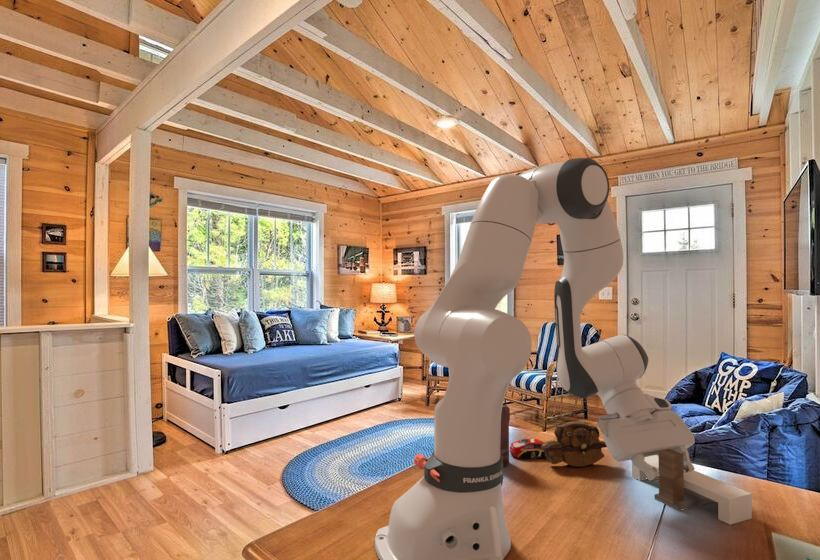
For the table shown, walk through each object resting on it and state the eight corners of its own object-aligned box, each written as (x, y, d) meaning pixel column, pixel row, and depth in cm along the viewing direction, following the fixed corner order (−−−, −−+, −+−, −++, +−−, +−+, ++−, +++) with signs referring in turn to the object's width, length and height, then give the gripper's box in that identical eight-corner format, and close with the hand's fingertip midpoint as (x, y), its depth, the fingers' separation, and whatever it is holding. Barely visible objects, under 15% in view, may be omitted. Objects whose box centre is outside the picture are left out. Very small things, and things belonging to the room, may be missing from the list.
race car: (558, 452, 113) (558, 436, 114) (566, 460, 108) (566, 444, 108) (507, 452, 113) (507, 436, 113) (513, 460, 108) (513, 444, 108)
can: (510, 469, 102) (510, 408, 102) (482, 467, 103) (482, 407, 103) (509, 459, 108) (509, 402, 108) (483, 457, 109) (483, 400, 109)
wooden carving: (549, 472, 100) (549, 428, 100) (540, 464, 105) (539, 422, 105) (613, 466, 103) (613, 424, 104) (601, 459, 108) (601, 418, 108)
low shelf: (729, 524, 78) (729, 499, 78) (632, 477, 98) (631, 456, 98) (751, 518, 80) (751, 493, 80) (651, 473, 100) (651, 453, 100)
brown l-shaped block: (677, 511, 83) (677, 458, 83) (654, 499, 88) (654, 449, 88) (718, 500, 87) (718, 450, 87) (694, 489, 92) (694, 441, 92)
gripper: (601, 408, 89) (642, 476, 80) (673, 399, 96) (719, 460, 87) (585, 424, 93) (623, 490, 84) (656, 414, 100) (698, 474, 91)
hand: (672, 475), depth 85 cm, fingers open, 8 cm apart
